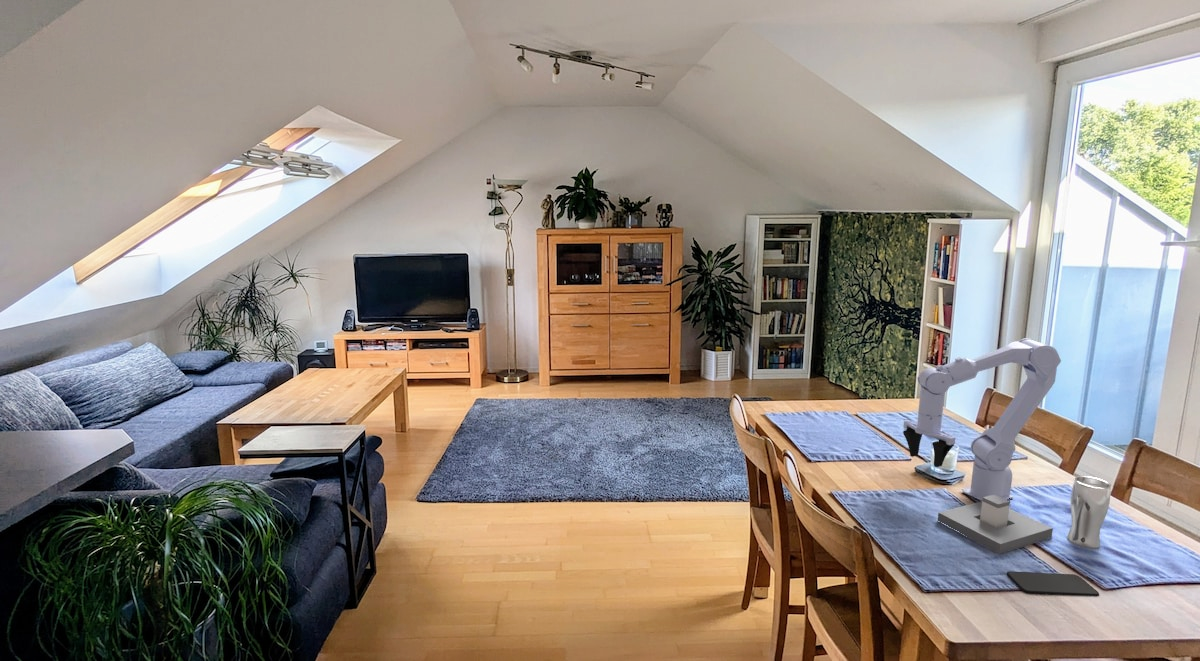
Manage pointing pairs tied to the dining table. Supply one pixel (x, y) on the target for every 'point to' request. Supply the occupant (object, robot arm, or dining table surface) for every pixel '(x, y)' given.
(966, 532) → the socket
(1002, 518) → the plug
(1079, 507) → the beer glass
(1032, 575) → the smartphone
